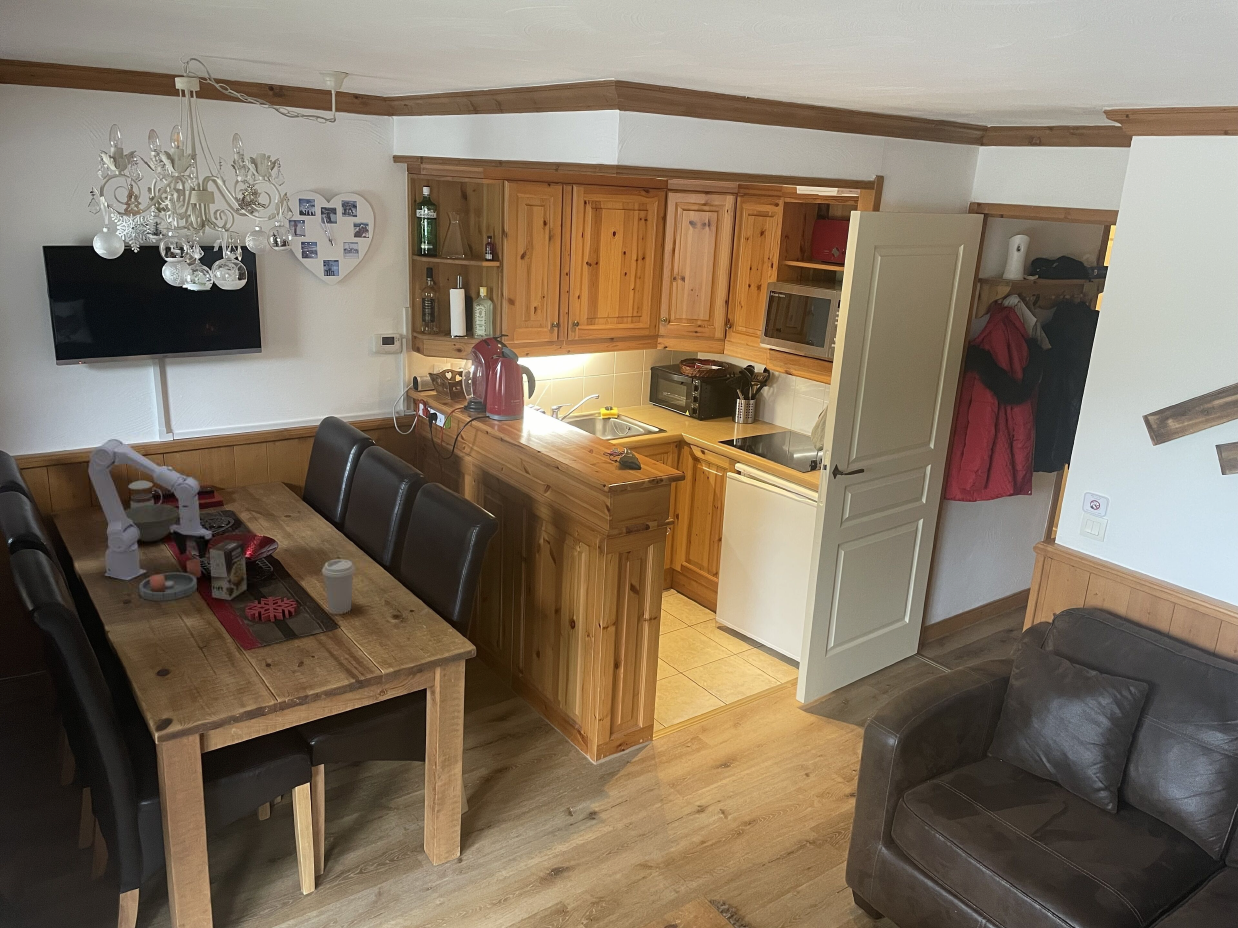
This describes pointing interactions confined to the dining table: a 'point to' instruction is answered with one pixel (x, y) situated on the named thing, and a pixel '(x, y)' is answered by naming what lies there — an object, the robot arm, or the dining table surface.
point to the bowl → (153, 520)
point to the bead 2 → (194, 567)
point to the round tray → (170, 594)
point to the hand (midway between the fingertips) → (192, 555)
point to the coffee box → (228, 569)
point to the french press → (142, 493)
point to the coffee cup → (338, 585)
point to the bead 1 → (157, 583)
